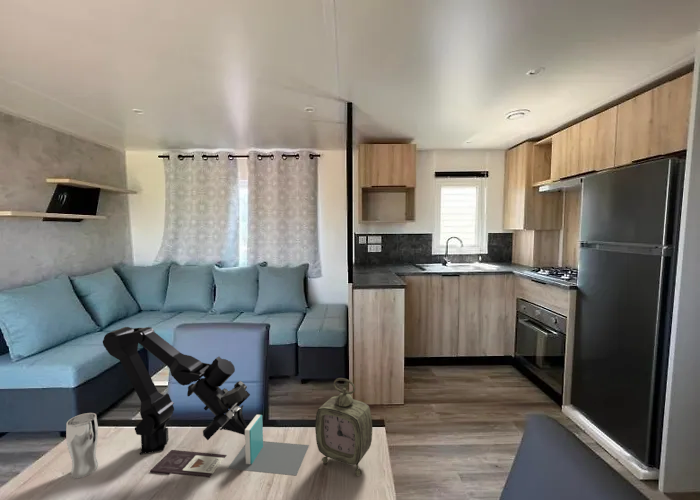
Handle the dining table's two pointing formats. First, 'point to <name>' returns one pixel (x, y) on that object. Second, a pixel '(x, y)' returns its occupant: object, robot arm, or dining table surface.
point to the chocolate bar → (188, 463)
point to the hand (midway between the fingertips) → (247, 433)
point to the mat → (273, 458)
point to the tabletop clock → (344, 428)
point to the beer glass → (82, 444)
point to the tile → (253, 439)
